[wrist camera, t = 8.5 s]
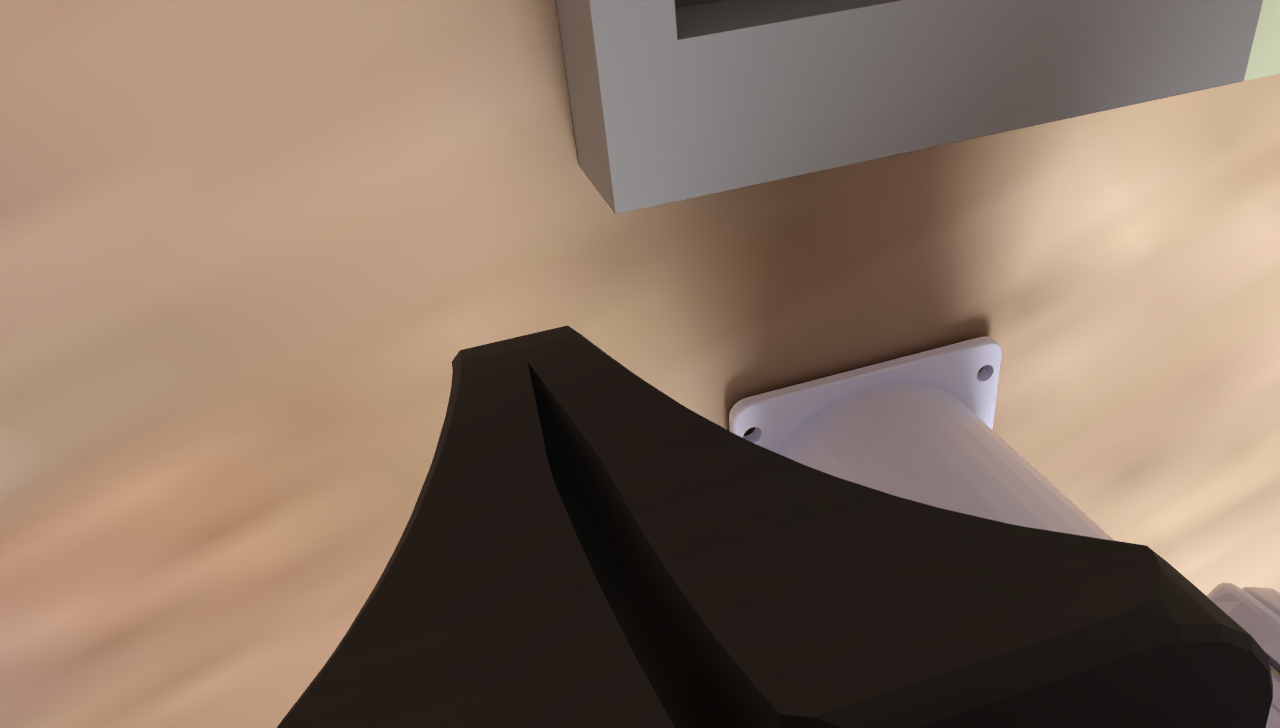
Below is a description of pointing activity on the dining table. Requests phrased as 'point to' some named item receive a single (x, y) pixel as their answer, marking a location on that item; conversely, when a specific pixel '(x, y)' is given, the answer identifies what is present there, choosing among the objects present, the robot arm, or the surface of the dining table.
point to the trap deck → (867, 78)
